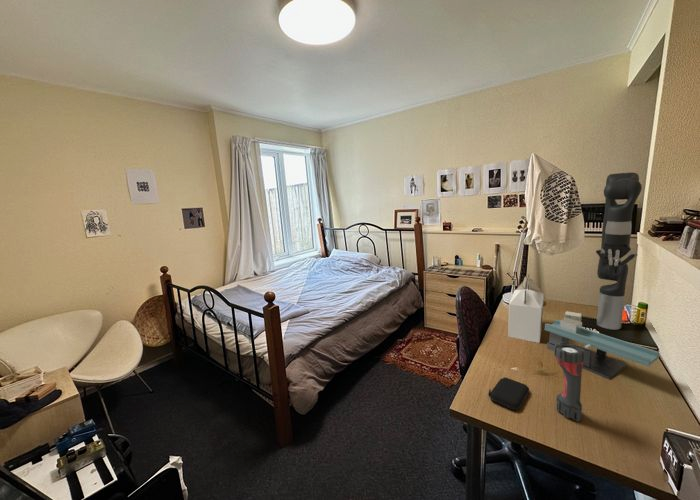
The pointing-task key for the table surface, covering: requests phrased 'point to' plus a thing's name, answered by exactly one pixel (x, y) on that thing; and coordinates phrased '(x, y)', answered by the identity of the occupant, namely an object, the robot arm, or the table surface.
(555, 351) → the flashlight
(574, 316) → the skincare box
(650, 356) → the seesaw beam
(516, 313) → the gable box
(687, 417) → the table surface
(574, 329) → the steel slider
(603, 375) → the beam stand
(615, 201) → the robot arm
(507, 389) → the carrying case or bag
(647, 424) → the table surface
